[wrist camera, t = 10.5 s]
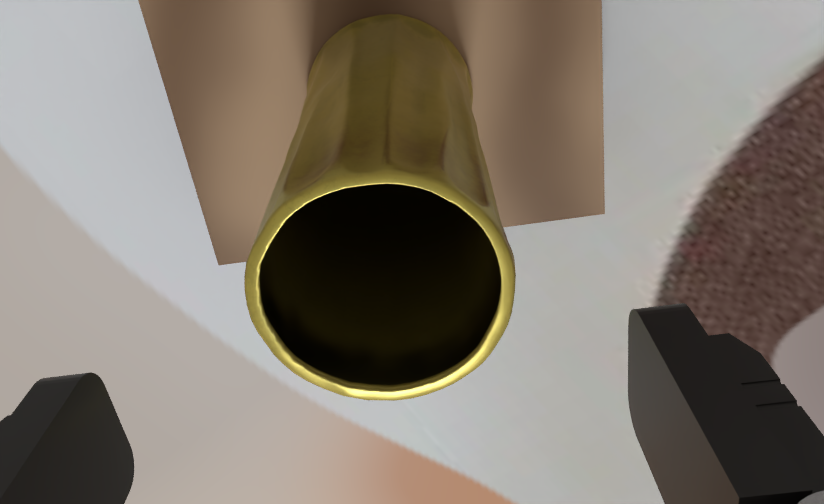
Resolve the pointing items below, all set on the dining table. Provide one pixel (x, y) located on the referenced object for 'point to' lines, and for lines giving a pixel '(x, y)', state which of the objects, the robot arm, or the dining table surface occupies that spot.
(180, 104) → the walnut shelf
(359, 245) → the vase
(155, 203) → the dining table surface
